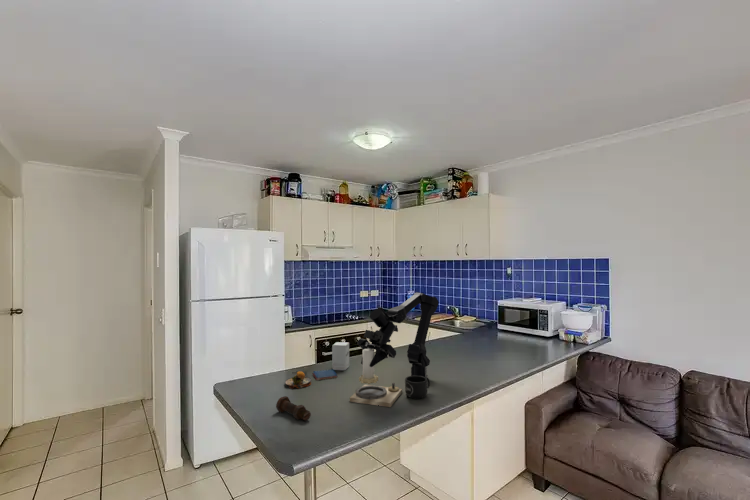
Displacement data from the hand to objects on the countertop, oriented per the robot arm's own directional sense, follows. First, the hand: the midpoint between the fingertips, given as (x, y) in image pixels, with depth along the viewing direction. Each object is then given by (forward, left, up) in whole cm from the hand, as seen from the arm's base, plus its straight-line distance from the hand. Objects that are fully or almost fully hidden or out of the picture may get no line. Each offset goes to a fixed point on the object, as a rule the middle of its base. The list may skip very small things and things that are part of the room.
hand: (366, 365), depth 148 cm
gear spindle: (-1, -1, -7) cm, 7 cm away
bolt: (+18, +25, -13) cm, 33 cm away
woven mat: (+29, -19, -14) cm, 37 cm away
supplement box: (+27, -33, -13) cm, 45 cm away
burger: (+35, -5, -13) cm, 38 cm away
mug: (-20, -9, -13) cm, 25 cm away
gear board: (-4, -2, -13) cm, 14 cm away
